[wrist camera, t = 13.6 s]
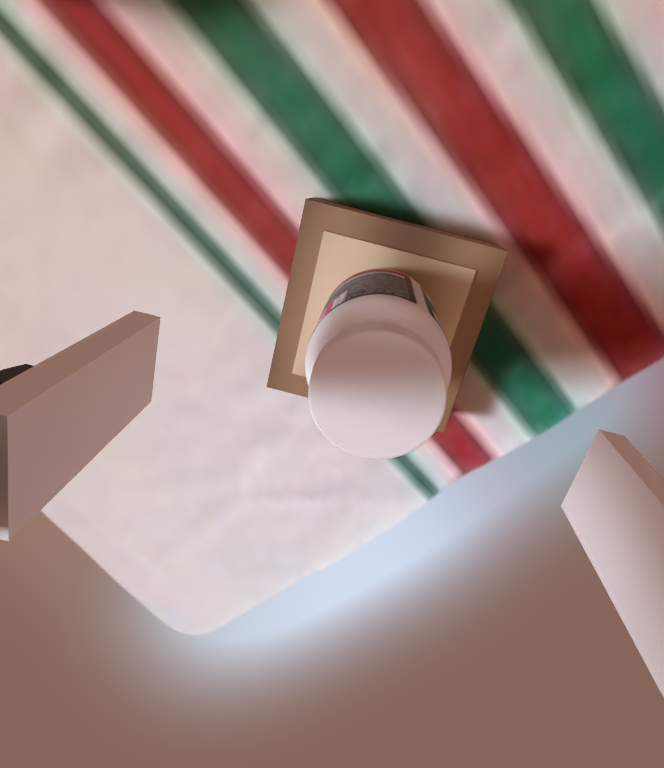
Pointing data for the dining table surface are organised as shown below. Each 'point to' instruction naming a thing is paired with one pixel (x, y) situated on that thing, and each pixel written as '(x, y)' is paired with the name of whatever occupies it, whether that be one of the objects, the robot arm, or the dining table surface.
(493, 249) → the base block
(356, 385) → the pill bottle
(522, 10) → the dining table surface
